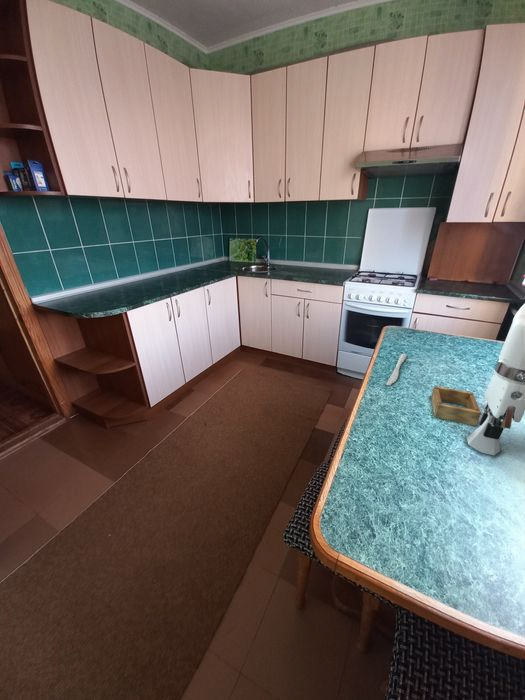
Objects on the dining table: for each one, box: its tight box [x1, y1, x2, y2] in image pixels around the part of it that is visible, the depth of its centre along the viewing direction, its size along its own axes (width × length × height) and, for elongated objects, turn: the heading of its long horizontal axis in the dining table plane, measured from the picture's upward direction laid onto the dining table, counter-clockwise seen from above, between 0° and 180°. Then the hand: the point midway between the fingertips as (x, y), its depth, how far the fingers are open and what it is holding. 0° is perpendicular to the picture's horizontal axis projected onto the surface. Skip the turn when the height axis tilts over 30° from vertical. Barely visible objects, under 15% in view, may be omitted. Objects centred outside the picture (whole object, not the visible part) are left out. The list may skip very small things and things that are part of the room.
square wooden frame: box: [430, 385, 482, 426], centre depth 87 cm, size 10×10×4 cm
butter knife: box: [385, 353, 408, 386], centre depth 109 cm, size 1×27×3 cm
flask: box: [466, 411, 503, 456], centre depth 73 cm, size 7×7×10 cm
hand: (488, 431), depth 73 cm, fingers closed on flask, 3 cm apart
